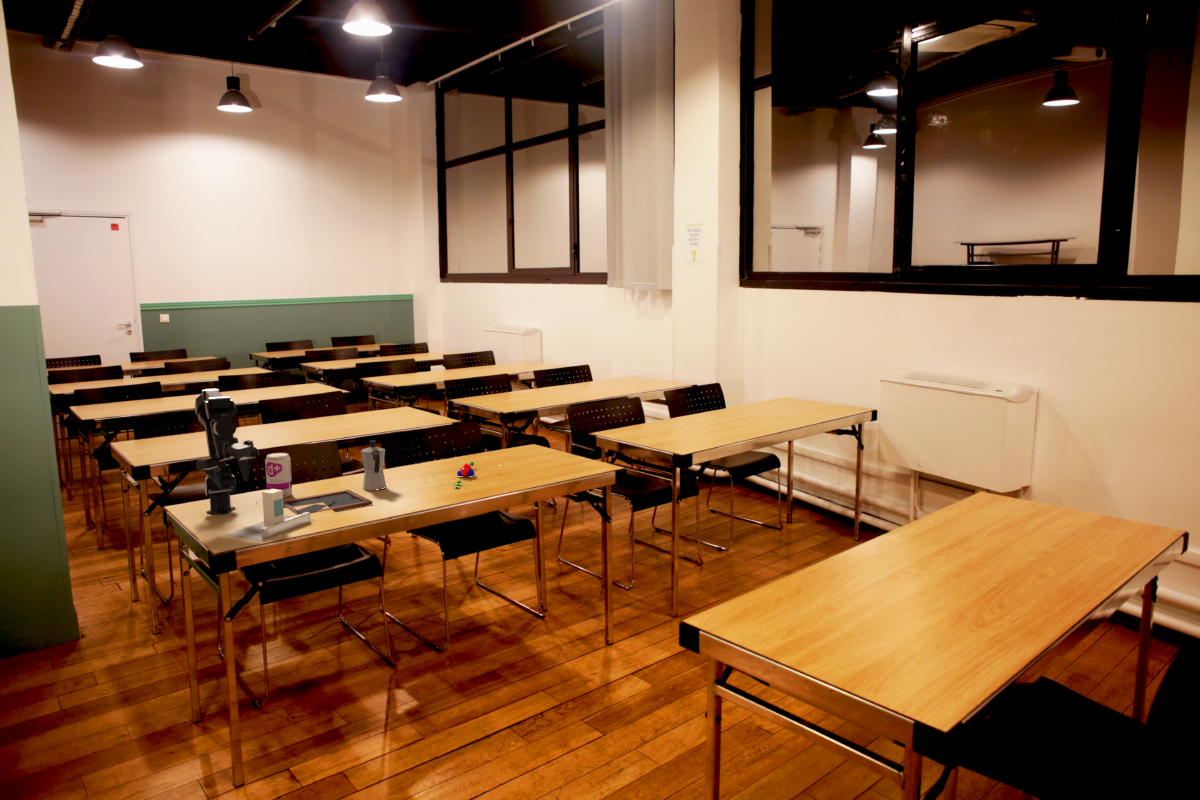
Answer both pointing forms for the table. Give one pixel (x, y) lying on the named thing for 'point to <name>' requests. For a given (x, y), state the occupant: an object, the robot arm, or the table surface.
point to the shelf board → (256, 531)
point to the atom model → (463, 471)
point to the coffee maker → (373, 467)
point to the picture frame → (327, 502)
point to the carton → (273, 506)
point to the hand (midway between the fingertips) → (234, 484)
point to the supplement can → (279, 473)
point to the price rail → (285, 525)
